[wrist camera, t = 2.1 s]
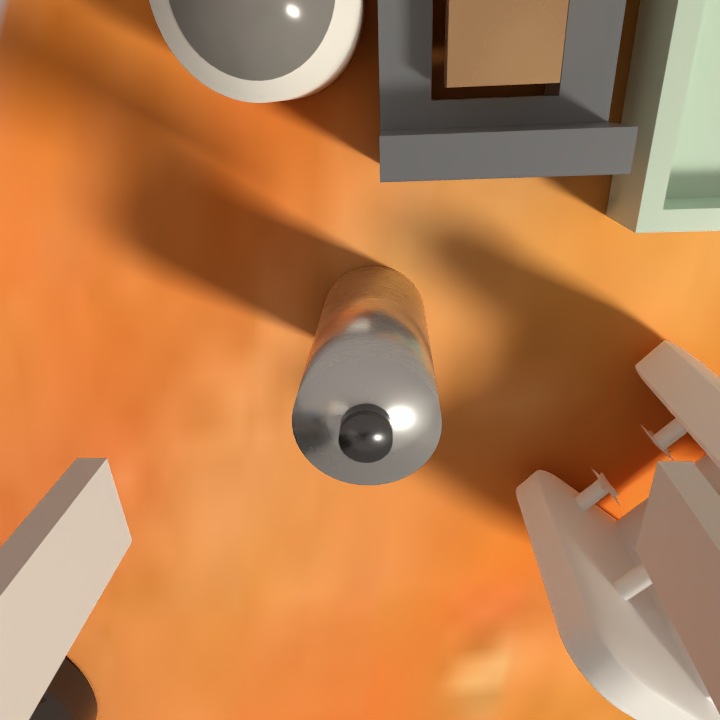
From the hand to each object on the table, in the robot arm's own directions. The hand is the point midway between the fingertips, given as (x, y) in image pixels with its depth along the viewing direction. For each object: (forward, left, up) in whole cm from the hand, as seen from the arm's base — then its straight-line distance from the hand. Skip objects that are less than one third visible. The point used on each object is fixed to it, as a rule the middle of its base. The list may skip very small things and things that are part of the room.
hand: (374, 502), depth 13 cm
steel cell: (0, 0, -13) cm, 13 cm away
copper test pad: (+4, +11, -11) cm, 16 cm away
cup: (-3, +12, -13) cm, 18 cm away
